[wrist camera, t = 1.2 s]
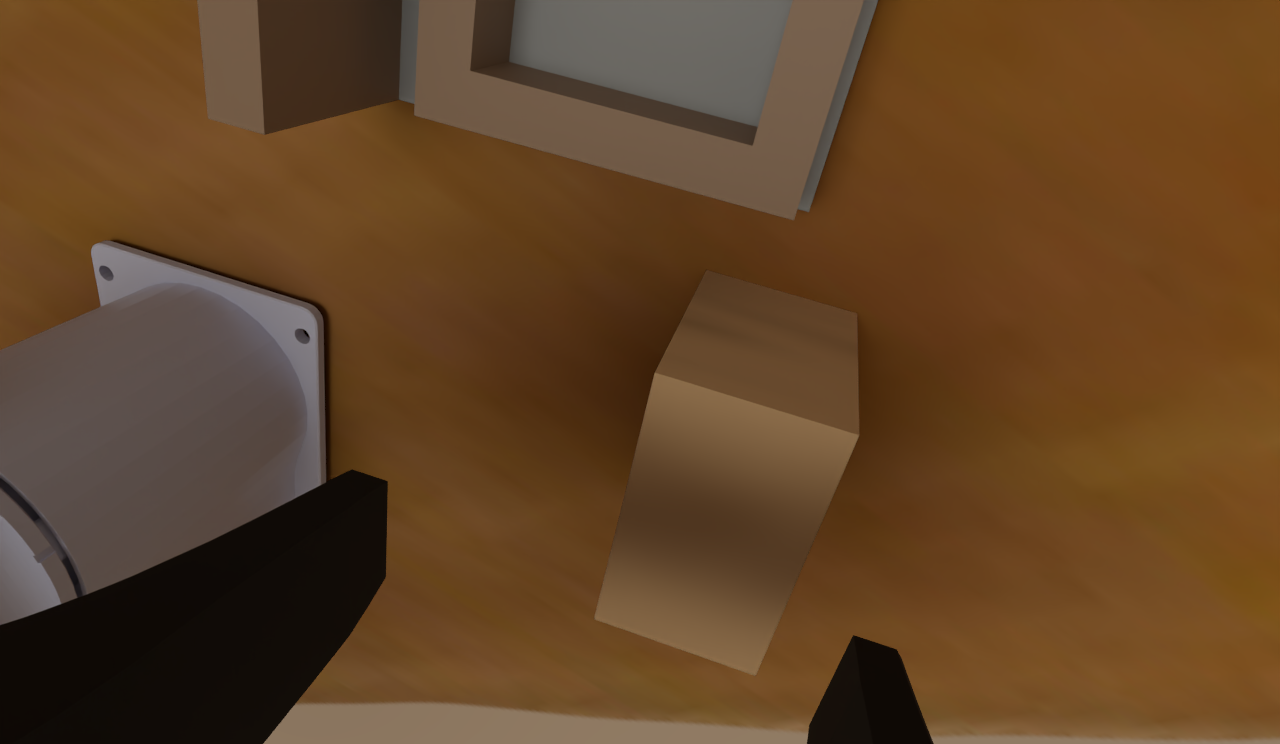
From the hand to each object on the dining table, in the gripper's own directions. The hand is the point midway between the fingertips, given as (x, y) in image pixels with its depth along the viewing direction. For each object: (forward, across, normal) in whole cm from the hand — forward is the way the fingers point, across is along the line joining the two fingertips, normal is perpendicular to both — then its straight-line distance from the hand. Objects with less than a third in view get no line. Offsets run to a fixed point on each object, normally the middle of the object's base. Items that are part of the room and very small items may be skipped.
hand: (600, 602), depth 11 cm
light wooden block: (+10, -1, +2) cm, 11 cm away
